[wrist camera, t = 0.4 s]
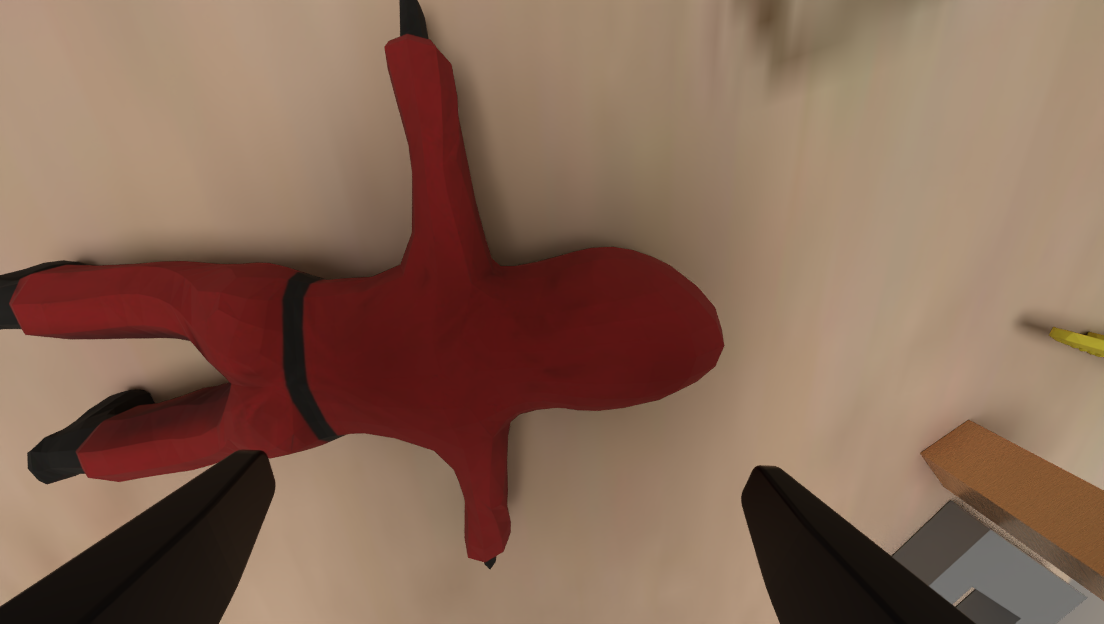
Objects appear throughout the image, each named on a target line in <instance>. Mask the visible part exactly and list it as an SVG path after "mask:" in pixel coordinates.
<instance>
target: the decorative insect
mask: <svg viewBox="0 0 1104 624" xmlns="http://www.w3.org/2000/svg"><path fill="white" fill-rule="evenodd" d="M1049 336H1050V337H1052V338H1053V339H1055V340H1056V341H1058V342H1061V343H1064V344H1067V345H1069V346H1071V347H1073V348H1078V349H1079V350H1080V351H1087V352H1088V353H1089V354H1092V355H1095V356H1098V357H1104V335H1100V334H1097V333H1092V332H1088V334H1087V335H1082V334H1079V333H1075V332H1071V331H1067V330H1063V329H1059V328H1055V327H1053V328H1052V330H1051V332H1050V334H1049Z"/></svg>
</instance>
